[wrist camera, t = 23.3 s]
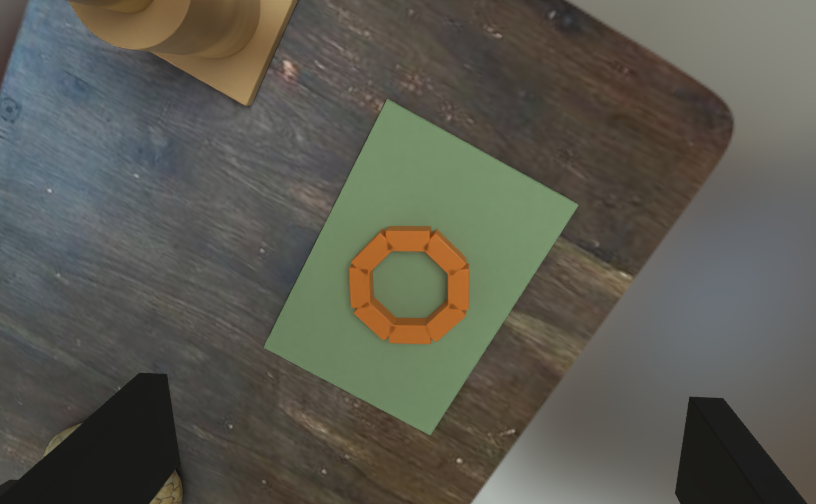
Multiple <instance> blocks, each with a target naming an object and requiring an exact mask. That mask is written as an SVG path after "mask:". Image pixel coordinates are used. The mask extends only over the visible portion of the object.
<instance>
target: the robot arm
mask: <svg viewBox="0 0 816 504" xmlns="http://www.w3.org/2000/svg"><path fill="white" fill-rule="evenodd" d="M179 464H180V459H179V452H178V445H177V438H176V432H175V425H174V418H173V411H172V405H171V398H170V391H169V384H168V378H167V374H154V373H139V374H138V375H136V376H135V377H134V378H133V379H132V380H131V381H130V382H128V383H127V384H126V385H125V386H124V387H123V388H122V389H121V390H119V391H118V392H117V393H116V394H115V395H114V396H113V397H112V398H110V399H109V400H108V401H107V402H106V403H105V404H104V405H103V406H101V407H100V408H99V409H98V410H97V411H96V412H95V413H94V414H92V415H91V416H90V417H89V418H88V419H87V420H86V421H84V422H83V423H82V424H81V425H80V426H79V427H78V428H77V429H75V430H74V431H73V432H72V433H71V434H70V435H69V436H68V437H66V438H65V439H64V440H63V441H62V442H61V443H60V444H59V445H57V446H56V447H55V448H54V449H53V450H52V451H51V452H49V453H48V454H47V455H46V456H45V457H44V458H43V459H42V460H40V461H39V462H38V463H37V464H36V465H35V466H34V467H33V468H31V469H30V470H29V471H28V472H27V473H26V474H25V475H24V476H22V477H21V478H20V479H19V480H9V481H7V482H5V483H4V484H2V485H0V504H150V503H151V501H152V500H153V499H154V497H155V496H156V495H157V493H158V492H159V491H160V489H161V488H162V487H163V486H164V484H165V483H166V482H167V480H168V479H169V478H170V476H171V475H172V474H173V472H174V471H175V470H176V468H177V467H178V466H179ZM675 494H676V496H677V498H678V500H679V502H680V504H807V503H806V502H805V500H804V499H803V498H802V497H801V495H800V494H799V493H798V492H797V490H796V489H795V488H794V486H793V485H792V484H791V483H790V481H789V480H788V479H787V478H786V476H785V475H784V474H783V473H782V471H781V470H780V469H779V468H778V466H777V465H776V464H775V463H774V461H773V460H772V459H771V458H770V456H769V455H768V454H767V453H766V451H765V450H764V449H763V448H762V446H761V445H760V444H759V443H758V441H757V440H756V439H755V438H754V436H753V435H752V434H751V433H750V431H749V430H748V429H747V428H746V426H745V425H744V424H743V423H742V421H741V420H740V419H739V418H738V416H737V415H736V414H735V413H734V411H733V410H732V409H731V408H730V406H729V405H728V404H727V402H726V401H725V400H724V399H723V398H706V397H689V403H688V410H687V417H686V423H685V430H684V437H683V443H682V450H681V457H680V464H679V470H678V477H677V484H676V491H675Z"/></svg>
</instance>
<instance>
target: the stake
mask: <svg viewBox="0 0 816 504" xmlns="http://www.w3.org/2000/svg"><path fill="white" fill-rule="evenodd" d="M66 1H69V2H70V4H71V6H72V8H73V10H74V11H75V13H76V15H77V16H78V17H79V19H80V20H81V21H82V23H83V24H84V25H85V26H86V27H87V28H88V29H89V30H90V31H91V32H92V33H94V34H95V35H96V36H97V37H99V38H100V39H102V40H103V41H105V42H107V43H109V44H111V45H114V46H117V47H120V48H125V49H131V50H140V51H149V52H152V53H153V54H155V55H157V56H159V57H160V58H162V59H164V60H166V61H168V62H169V63H171V64H173V65H175V66H176V67H178V68H180V69H182V70H183V71H185V72H187V73H189V74H190V75H192V76H194V77H196V78H197V79H199V80H201V81H203V82H205V83H206V84H208V85H210V86H212V87H213V88H215V89H217V90H219V91H220V92H222V93H224V94H226V95H227V96H229V97H231V98H233V99H234V100H236V101H238V102H240V103H242V104H243V105H245V106H248V105H252V103H253V100H254V98H255V96H256V94H257V91H258V89H259V87H260V85H261V82H262V80H263V78H264V76H265V73H266V71H267V69H268V67H269V64H270V62H271V60H272V58H273V55H274V53H275V51H276V49H277V46H278V44H279V42H280V40H281V37H282V35H283V33H284V31H285V28H286V26H287V24H288V22H289V19H290V17H291V15H292V13H293V10H294V8H295V6H296V4H297V1H298V0H66Z"/></svg>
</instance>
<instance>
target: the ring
mask: <svg viewBox="0 0 816 504" xmlns="http://www.w3.org/2000/svg"><path fill="white" fill-rule="evenodd" d="M391 251H425V252H426V253H427V254H428V255H429V256H430V257H431V258H432V259H433V260H434V261H435V262H436V263H437V264H438V265H439V266H440V267H441V268H442V269H443V270H444V271H445V272H446V273H447V274H448V299H447V300H446V301H445V302H444V303H442V304H441V305H440V306H439V307H438V308H437V309H436V310H435V311H434V312H433V313H432V314H431V315H429V316H428V317H427V318H396V317H395V316H394V315H393V314H392V313H391V312H390V311H389V310H388V309H386V308H385V307H384V306H383V305H382V304H381V303H380V302H379V301H378V300H377V299H376V298H375V297H374V289H373V269H374V268H375V267H376V266H377V265H378V264H379V263H380V262H381V261H382V260H383V259H384V258H385V257H386V256H387V255H388V254H389V253H390V252H391ZM351 263H352V264H351V266H350V267H349V282H350V302H351V308H356V309H355V311H354V314H355V315H356V316H357V317H358V318H359V319H360V320H362V321H363V322H364V323H365V324H366V325H367V326H368V327H369V328H370V329H371V330H372V331H373V332H374V333H376V334H377V335H378V336H379V337H380V338H381V339H382V340H383V341H384V340H385V339H387V338H388V337H389V343H401V344H431V339H433V340H434V341H435V342H437V341H438V340H440V339H441V338H442V337H443V336H444V335H445V334H446V333H447V332H449V331H450V330H451V329H452V328H453V327H454V326H455V325H456V324H457V323H459V322H460V321H461V320H462V319H463V318H464V317H465V316H466V310H469V263H467V258H466V257H465V256H464V255H463V254H462V253H461V252H460V251H459V250H458V249H457V248H456V247H455V246H454V245H453V244H452V243H451V242H450V241H449V240H448V239H447V238H446V237H445V236H444V235H443V234H442V233H441V232H440V231H439V230H438V229H435V230H434V231H433V232H432V233H431V226H388V228H387V229H386V230H385V229H381V230H380V231H379V232H378V233H377V234H376V235H375V236H374V237H373V239H372V240H371V241H370V242H369V243H368V244H367V245H366V246H365V247H364V248H363V249H362V250H361V251H360V252H359V253H358V254H357V255H356V256H355V257H354V258H353V260H352V261H351Z"/></svg>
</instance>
